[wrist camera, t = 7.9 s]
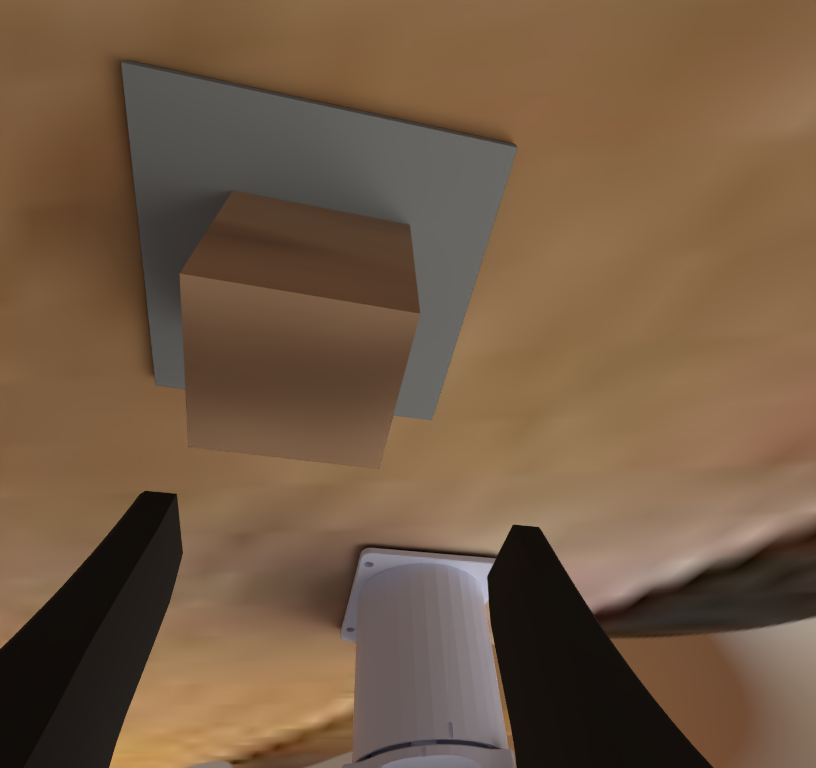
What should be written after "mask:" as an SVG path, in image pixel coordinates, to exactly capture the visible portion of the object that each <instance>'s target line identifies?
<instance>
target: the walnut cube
mask: <svg viewBox="0 0 816 768" xmlns="http://www.w3.org/2000/svg"><path fill="white" fill-rule="evenodd" d="M180 293H181V312H182V332H183V352H184V371H185V391H186V411H187V431H188V447H194V448H202V449H211V450H219V451H228V452H237V453H245V454H254V455H262V456H271V457H280V458H288V459H297V460H305V461H314V462H322V463H331V464H340V465H348V466H357V467H365V468H374V469H379V467H380V464H381V460H382V456H383V452H384V449H385V445H386V441H387V437H388V433H389V430H390V426H391V422H392V418H393V415H394V411H395V407H396V403H397V400H398V396H399V392H400V388H401V385H402V381H403V377H404V373H405V370H406V366H407V362H408V358H409V355H410V351H411V347H412V343H413V340H414V336H415V332H416V328H417V324H418V321H419V317H420V306H419V298H418V289H417V281H416V272H415V263H414V255H413V246H412V238H411V229H410V225H408V224H403V223H398V222H393V221H388V220H383V219H377V218H372V217H367V216H362V215H357V214H352V213H347V212H342V211H336V210H331V209H326V208H321V207H316V206H311V205H306V204H301V203H295V202H290V201H285V200H280V199H275V198H270V197H265V196H259V195H254V194H249V193H244V192H239V191H234V190H233V191H232V193H231V194H230V196H229V197H228V199H227V200H226V202H225V203H224V205H223V207H222V208H221V210H220V211H219V213H218V214H217V216H216V217H215V219H214V221H213V222H212V224H211V225H210V227H209V228H208V230H207V231H206V233H205V235H204V236H203V238H202V239H201V241H200V242H199V244H198V245H197V247H196V249H195V250H194V252H193V253H192V255H191V256H190V258H189V259H188V261H187V263H186V264H185V266H184V267H183V269H182V270H181V272H180Z"/></svg>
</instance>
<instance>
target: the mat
mask: <svg viewBox="0 0 816 768" xmlns="http://www.w3.org/2000/svg"><path fill="white" fill-rule="evenodd" d="M121 66H122V76H123V85H124V94H125V104H126V113H127V122H128V132H129V141H130V150H131V160H132V169H133V178H134V188H135V197H136V206H137V215H138V225H139V234H140V243H141V253H142V262H143V271H144V281H145V290H146V299H147V309H148V318H149V327H150V337H151V346H152V355H153V365H154V374H155V383H156V385H157V386H165V387H173V388H181V389H185V371H184V352H183V332H182V312H181V293H180V272H181V270H182V269H183V267H184V266H185V264H186V263H187V261H188V259H189V258H190V256H191V255H192V253H193V252H194V250H195V249H196V247H197V245H198V244H199V242H200V241H201V239H202V238H203V236H204V235H205V233H206V231H207V230H208V228H209V227H210V225H211V224H212V222H213V221H214V219H215V217H216V216H217V214H218V213H219V211H220V210H221V208H222V207H223V205H224V203H225V202H226V200H227V199H228V197H229V196H230V194H231V193H232V191H233V190H234V191H239V192H244V193H249V194H254V195H259V196H265V197H270V198H275V199H280V200H285V201H290V202H295V203H301V204H306V205H311V206H316V207H321V208H326V209H331V210H336V211H342V212H347V213H352V214H357V215H362V216H367V217H372V218H377V219H383V220H388V221H393V222H398V223H403V224H408V225H410V229H411V238H412V246H413V255H414V263H415V272H416V281H417V289H418V298H419V306H420V317H419V321H418V324H417V328H416V332H415V336H414V340H413V343H412V347H411V351H410V355H409V358H408V362H407V366H406V370H405V373H404V377H403V381H402V385H401V388H400V392H399V396H398V400H397V403H396V407H395V411H394V416H402V417H410V418H418V419H426V420H432V418H433V415H434V412H435V409H436V406H437V402H438V399H439V396H440V393H441V390H442V386H443V383H444V380H445V377H446V374H447V371H448V367H449V364H450V361H451V358H452V355H453V351H454V348H455V345H456V342H457V339H458V336H459V332H460V329H461V326H462V323H463V320H464V316H465V313H466V310H467V307H468V304H469V300H470V297H471V294H472V291H473V288H474V285H475V281H476V278H477V275H478V272H479V269H480V265H481V262H482V259H483V256H484V253H485V250H486V246H487V243H488V240H489V237H490V234H491V230H492V227H493V224H494V221H495V218H496V215H497V211H498V208H499V205H500V202H501V199H502V195H503V192H504V189H505V186H506V183H507V180H508V176H509V173H510V170H511V167H512V164H513V160H514V157H515V154H516V151H517V146H516V145H515V144H513V143H508V142H503V141H499V140H494V139H490V138H485V137H480V136H476V135H471V134H466V133H462V132H457V131H453V130H448V129H443V128H439V127H434V126H429V125H425V124H420V123H416V122H411V121H406V120H402V119H397V118H393V117H388V116H383V115H379V114H374V113H369V112H365V111H360V110H356V109H351V108H346V107H342V106H337V105H332V104H328V103H323V102H319V101H314V100H309V99H305V98H300V97H296V96H291V95H286V94H282V93H277V92H272V91H268V90H263V89H259V88H254V87H249V86H245V85H240V84H235V83H231V82H226V81H222V80H217V79H212V78H208V77H203V76H199V75H194V74H189V73H185V72H180V71H175V70H171V69H166V68H162V67H157V66H152V65H148V64H143V63H138V62H134V61H129V60H125V61H123V62H121Z"/></svg>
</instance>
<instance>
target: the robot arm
mask: <svg viewBox="0 0 816 768" xmlns="http://www.w3.org/2000/svg"><path fill="white" fill-rule="evenodd" d="M182 554H183V550H182V541H181V531H180V521H179V512H178V502H177V494H173V493H162V492H151V491H144V492H143V493H141V494H140V495H139V496H138V497H137V499H136V500H135V501H134V503H133V504H132V505H131V507H130V508H129V509H128V510H127V512H126V513H125V514H124V515H123V517H122V518H121V519H120V520H119V522H118V523H117V524H116V525H115V527H114V528H113V529H112V530H111V531H110V533H109V534H108V535H107V536H106V537H105V539H104V540H103V541H102V542H101V543H100V544H99V546H98V547H97V548H96V549H95V550H94V551H93V553H92V554H91V555H90V556H89V557H88V558H87V559H86V560H85V562H84V563H83V564H82V565H81V566H80V567H79V568H78V569H77V570H76V572H75V573H74V574H73V575H72V576H71V577H70V578H69V579H68V580H67V582H66V583H65V584H64V585H63V586H62V587H61V588H60V589H59V590H58V591H57V592H56V594H55V595H54V596H53V597H52V598H51V599H50V600H49V601H48V602H47V603H46V604H45V605H44V606H43V607H42V608H41V609H40V610H39V611H38V612H37V613H36V614H35V615H34V616H33V617H32V618H31V619H30V620H29V621H28V622H27V623H26V624H25V625H24V626H23V627H22V628H21V629H20V630H19V631H18V632H17V633H16V634H15V635H14V636H13V637H12V638H11V639H10V640H9V641H8V642H7V643H6V644H5V645H4V646H3V647H2V648H1V649H0V768H109V766H110V762H111V759H112V756H113V752H114V749H115V745H116V742H117V739H118V736H119V733H120V731H121V728H122V725H123V722H124V719H125V716H126V714H127V711H128V709H129V706H130V703H131V701H132V698H133V696H134V693H135V691H136V688H137V685H138V683H139V680H140V678H141V675H142V673H143V670H144V667H145V665H146V662H147V660H148V657H149V655H150V652H151V650H152V647H153V644H154V642H155V639H156V637H157V634H158V631H159V629H160V626H161V624H162V621H163V618H164V616H165V613H166V611H167V608H168V605H169V603H170V599H171V595H172V592H173V588H174V585H175V581H176V577H177V573H178V570H179V566H180V562H181V558H182ZM488 599H489V609H490V620H491V627H492V632H493V638H494V643H495V648H496V653H497V658H498V663H499V669H500V673H501V679H502V684H503V688H504V693H505V699H506V704H507V709H508V714H509V719H510V724H511V729H512V736H513V741H514V748H515V756H516V765H517V768H713V767H712V766H711V765H710V764H709V762H708V761H707V760H706V759H705V758H704V757H703V756H702V755H701V754H700V753H699V752H698V751H697V749H696V748H695V747H694V746H693V745H692V744H691V743H690V742H689V740H688V739H687V738H686V737H685V736H684V735H683V733H682V732H681V731H680V730H679V729H678V728H677V726H676V725H675V724H674V723H673V722H672V720H671V719H670V718H669V717H668V715H667V714H666V713H665V712H664V711H663V709H662V708H661V707H660V706H659V704H658V703H657V702H656V701H655V700H654V698H653V697H652V696H651V694H650V693H649V692H648V690H647V689H646V688H645V687H644V685H643V684H642V683H641V681H640V680H639V679H638V677H637V676H636V675H635V674H634V672H633V671H632V669H631V668H630V667H629V665H628V664H627V662H626V661H625V660H624V658H623V657H622V656H621V654H620V653H619V651H618V650H617V649H616V647H615V646H614V644H613V643H612V641H611V640H610V638H609V637H608V636H607V634H606V633H605V631H604V630H603V628H602V627H601V625H600V624H599V622H598V621H597V619H596V618H595V616H594V615H593V613H592V612H591V610H590V609H589V607H588V605H587V604H586V602H585V601H584V599H583V598H582V596H581V595H580V593H579V591H578V590H577V588H576V587H575V585H574V583H573V582H572V580H571V579H570V577H569V575H568V574H567V572H566V571H565V569H564V567H563V566H562V564H561V562H560V561H559V559H558V557H557V556H556V554H555V552H554V551H553V549H552V547H551V546H550V544H549V542H548V541H547V539H546V537H545V536H544V534H543V532H542V531H541V529H540V528H539V527H532V526H521V525H513V526H512V528H511V530H510V532H509V534H508V536H507V538H506V540H505V542H504V544H503V546H502V548H501V550H500V552H499V554H498V556H497V558H485V557H474V556H462V555H450V554H439V553H427V552H415V551H404V550H392V549H380V548H366V549H364V550H362V552H361V554H360V558H359V562H358V566H357V570H356V574H355V578H354V581H353V585H352V589H351V593H350V597H349V601H348V605H347V609H346V613H345V616H344V620H343V624H342V628H341V634H340V638H341V639H342V640H344V641H354V642H356V663H355V691H354V720H353V758H352V763H351V764H344V765H343V766H342V768H515V761H514V755H513V751H512V749H508V743H507V737H506V731H505V725H504V719H503V713H502V707H501V701H500V695H499V688H498V683H497V676H496V670H495V664H494V658H493V652H492V646H491V640H490V634H489V627H488V621H487V615H486V609H485V605H486V603H487V601H488Z"/></svg>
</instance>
